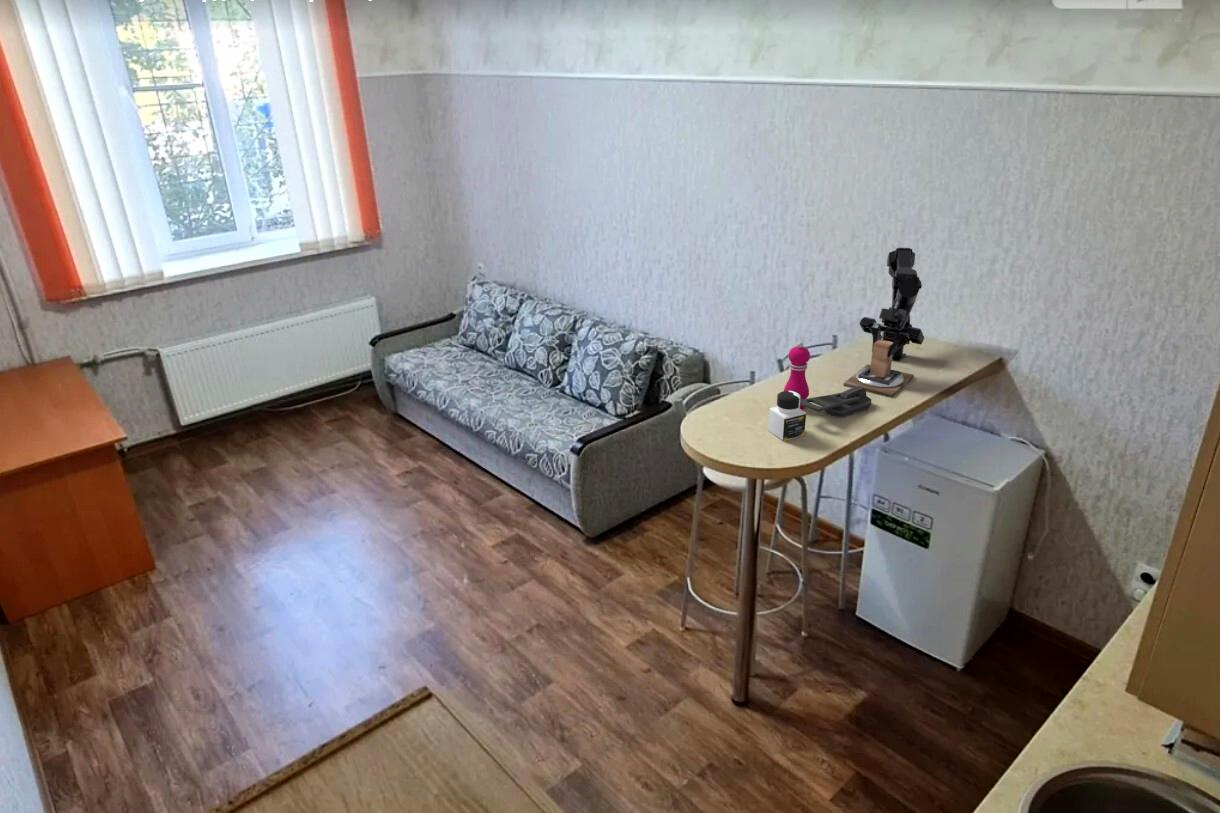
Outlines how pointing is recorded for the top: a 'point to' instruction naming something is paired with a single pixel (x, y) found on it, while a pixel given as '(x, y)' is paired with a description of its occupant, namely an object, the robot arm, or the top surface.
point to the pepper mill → (798, 371)
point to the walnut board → (880, 391)
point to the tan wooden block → (881, 358)
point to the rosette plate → (879, 379)
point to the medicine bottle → (787, 417)
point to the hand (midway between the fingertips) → (880, 354)
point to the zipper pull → (840, 402)
